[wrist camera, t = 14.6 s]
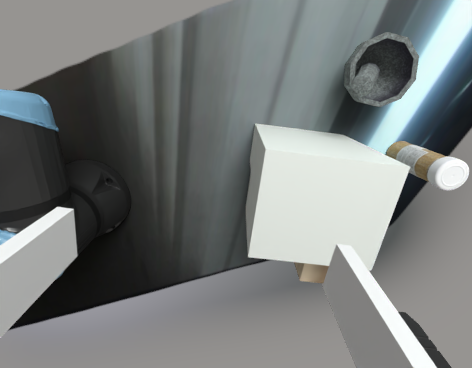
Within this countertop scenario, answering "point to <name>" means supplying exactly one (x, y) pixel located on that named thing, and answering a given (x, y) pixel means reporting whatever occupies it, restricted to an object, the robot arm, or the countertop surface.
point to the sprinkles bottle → (430, 165)
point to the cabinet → (318, 195)
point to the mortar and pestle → (381, 69)
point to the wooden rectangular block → (311, 272)
